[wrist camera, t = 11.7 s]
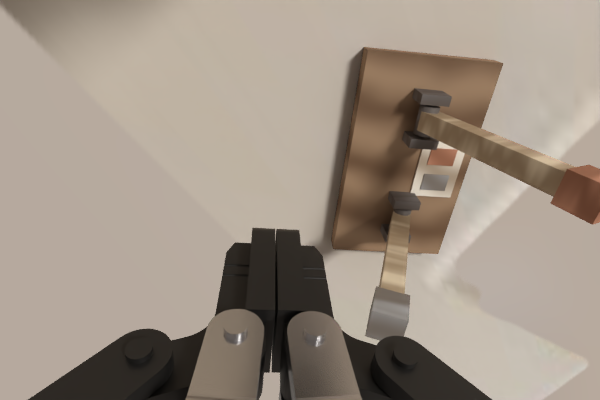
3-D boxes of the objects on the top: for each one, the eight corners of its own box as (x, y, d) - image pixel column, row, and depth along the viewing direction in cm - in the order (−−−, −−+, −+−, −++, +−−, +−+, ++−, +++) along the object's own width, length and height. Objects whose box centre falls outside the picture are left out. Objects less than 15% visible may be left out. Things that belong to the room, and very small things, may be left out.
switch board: (363, 47, 39) (374, 54, 35) (493, 60, 40) (516, 68, 36) (331, 239, 50) (336, 261, 47) (432, 244, 52) (445, 265, 48)
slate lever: (391, 201, 46) (372, 309, 29) (415, 206, 45) (408, 320, 29) (386, 222, 47) (365, 336, 31) (409, 227, 47) (399, 347, 30)
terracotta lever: (413, 103, 39) (613, 186, 24) (433, 102, 40) (635, 181, 26) (406, 131, 40) (591, 225, 26) (425, 130, 42) (613, 219, 27)
